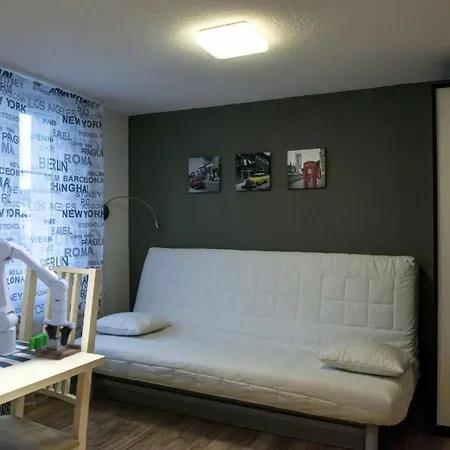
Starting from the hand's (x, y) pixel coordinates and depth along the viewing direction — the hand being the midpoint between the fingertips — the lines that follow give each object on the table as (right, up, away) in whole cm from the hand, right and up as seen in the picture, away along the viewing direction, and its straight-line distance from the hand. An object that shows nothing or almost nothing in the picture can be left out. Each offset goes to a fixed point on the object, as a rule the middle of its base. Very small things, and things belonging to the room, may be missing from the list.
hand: (58, 344), depth 191 cm
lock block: (0, -2, 0) cm, 2 cm away
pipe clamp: (-11, -4, +10) cm, 15 cm away
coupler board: (0, -4, 0) cm, 4 cm away
